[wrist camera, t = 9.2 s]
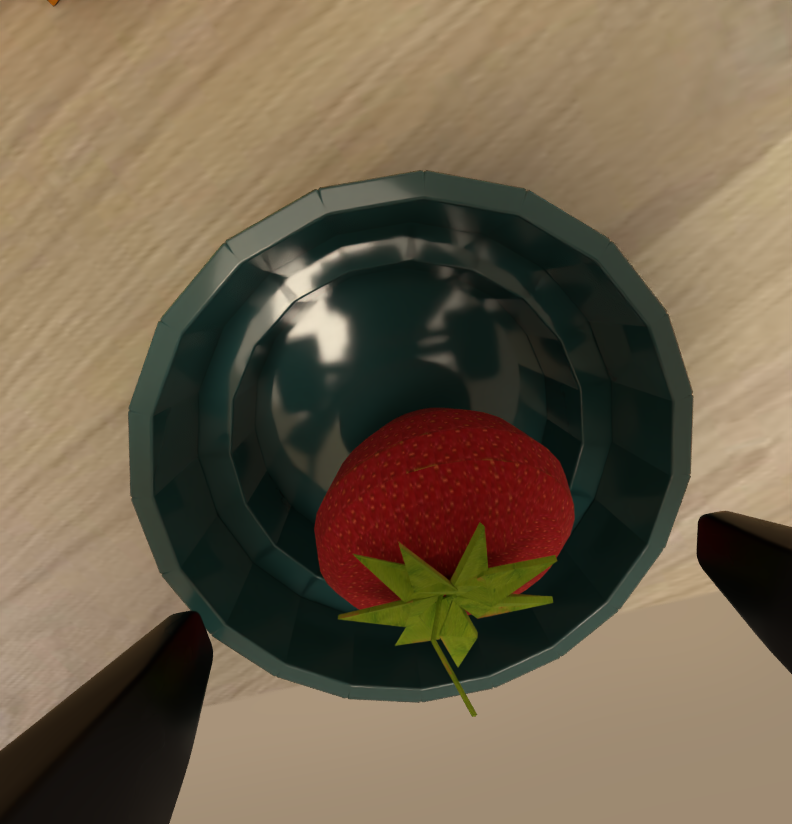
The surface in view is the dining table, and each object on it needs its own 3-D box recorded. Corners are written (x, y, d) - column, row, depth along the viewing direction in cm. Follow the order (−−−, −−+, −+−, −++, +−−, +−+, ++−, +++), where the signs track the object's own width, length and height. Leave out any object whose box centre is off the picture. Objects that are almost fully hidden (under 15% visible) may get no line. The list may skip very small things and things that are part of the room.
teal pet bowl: (583, 539, 20) (685, 652, 13) (271, 598, 19) (225, 741, 13) (567, 193, 15) (704, 120, 9) (168, 262, 15) (26, 237, 9)
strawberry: (525, 444, 17) (678, 712, 9) (363, 500, 18) (360, 787, 10) (489, 320, 14) (668, 540, 6) (300, 395, 16) (217, 673, 7)
